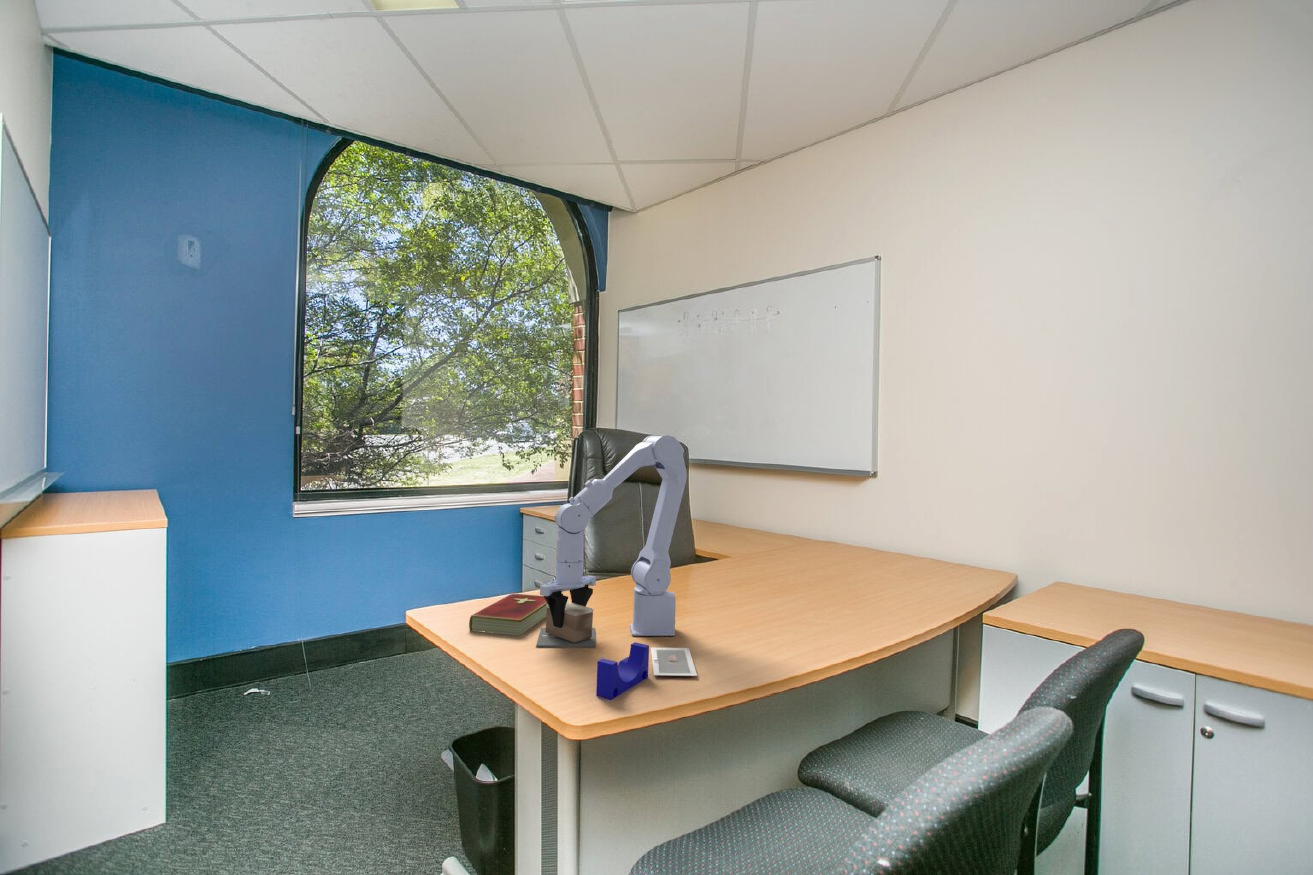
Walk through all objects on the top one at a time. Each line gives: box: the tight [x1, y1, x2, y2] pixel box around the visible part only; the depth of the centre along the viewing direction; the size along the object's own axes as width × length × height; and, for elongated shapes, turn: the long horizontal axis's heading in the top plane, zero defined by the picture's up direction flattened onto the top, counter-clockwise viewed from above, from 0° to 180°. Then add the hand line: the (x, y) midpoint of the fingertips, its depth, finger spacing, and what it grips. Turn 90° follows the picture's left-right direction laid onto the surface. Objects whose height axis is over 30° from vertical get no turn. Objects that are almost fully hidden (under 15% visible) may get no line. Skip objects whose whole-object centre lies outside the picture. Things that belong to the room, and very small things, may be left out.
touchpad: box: [650, 647, 698, 677], centre depth 120 cm, size 8×15×2 cm, turn 3°
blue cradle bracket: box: [595, 641, 650, 701], centre depth 109 cm, size 12×4×6 cm, turn 150°
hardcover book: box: [468, 592, 547, 637], centre depth 145 cm, size 12×21×4 cm, turn 168°
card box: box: [545, 600, 594, 643], centre depth 134 cm, size 5×9×6 cm, turn 51°
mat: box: [535, 627, 597, 648], centre depth 134 cm, size 12×12×1 cm
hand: (567, 623), depth 134 cm, fingers closed on card box, 5 cm apart
